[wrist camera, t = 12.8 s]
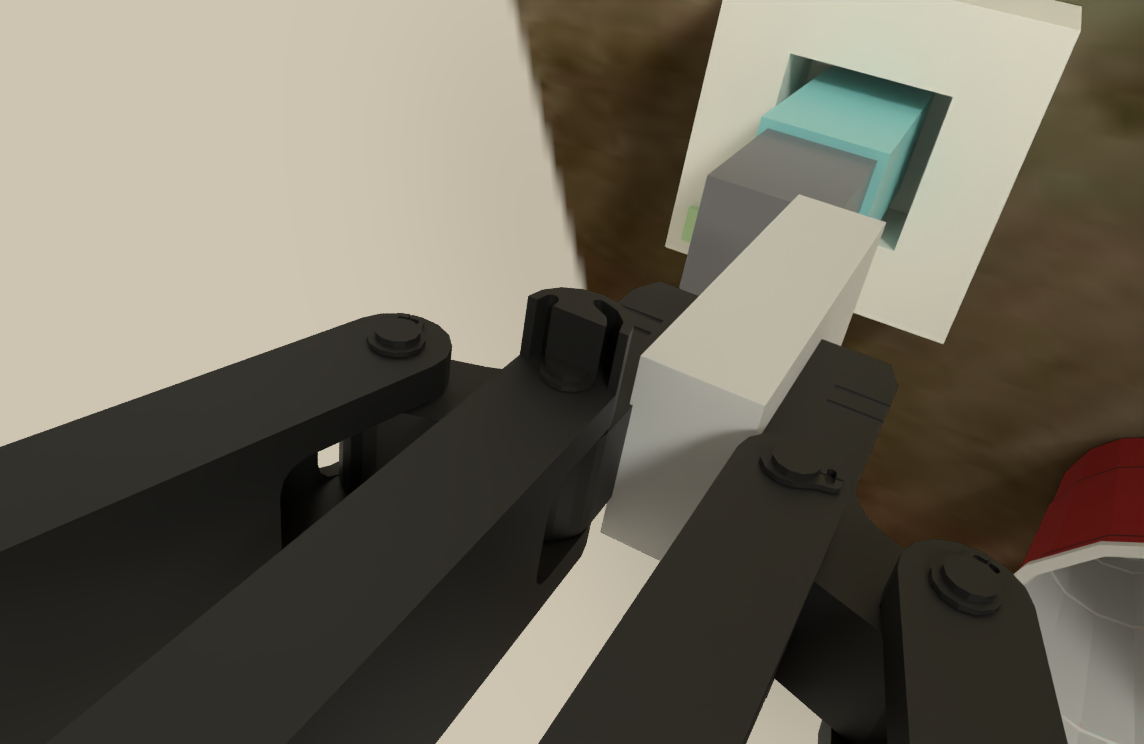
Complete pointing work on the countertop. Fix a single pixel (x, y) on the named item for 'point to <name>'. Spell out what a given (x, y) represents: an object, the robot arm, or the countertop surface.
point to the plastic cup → (1094, 594)
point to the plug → (808, 163)
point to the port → (946, 142)
